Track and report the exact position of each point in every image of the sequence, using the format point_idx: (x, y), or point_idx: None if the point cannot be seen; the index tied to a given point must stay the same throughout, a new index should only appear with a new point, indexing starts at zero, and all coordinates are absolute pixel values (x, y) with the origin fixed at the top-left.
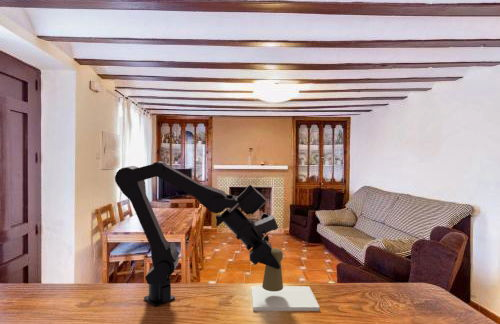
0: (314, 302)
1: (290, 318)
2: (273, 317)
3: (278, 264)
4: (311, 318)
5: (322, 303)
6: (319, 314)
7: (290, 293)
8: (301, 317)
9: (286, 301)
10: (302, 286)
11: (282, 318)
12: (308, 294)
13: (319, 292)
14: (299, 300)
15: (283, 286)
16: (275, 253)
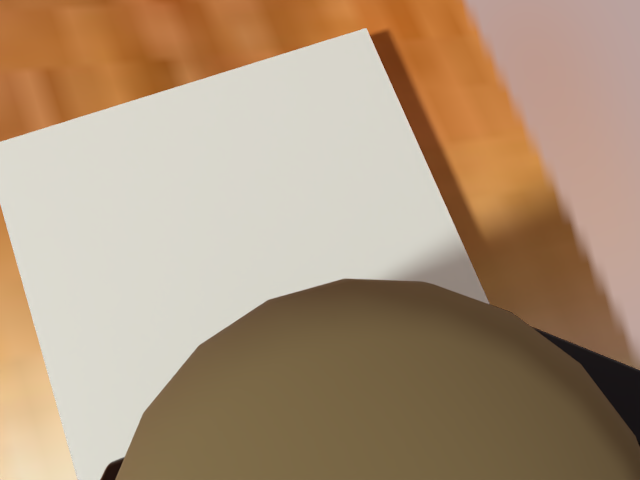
0: (303, 70)
1: (559, 223)
2: (604, 350)
3: (554, 342)
4: (492, 86)
5: (234, 35)
6: (413, 41)
7: (200, 289)
8: (509, 152)
9: None
10: (5, 207)
11: (586, 280)
12: (167, 133)
13: (35, 72)
14: (314, 188)
15: (56, 393)
16: (635, 450)
